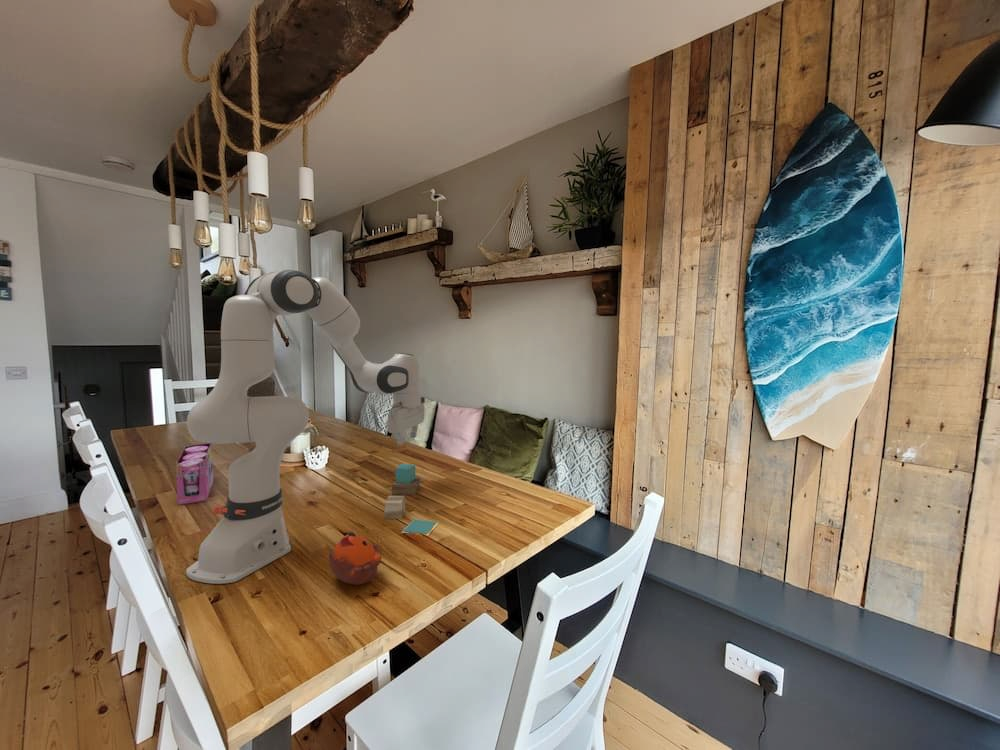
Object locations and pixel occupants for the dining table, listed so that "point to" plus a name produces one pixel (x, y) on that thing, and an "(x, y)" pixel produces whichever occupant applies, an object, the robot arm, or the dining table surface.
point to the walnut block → (406, 487)
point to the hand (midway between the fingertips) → (407, 440)
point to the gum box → (194, 473)
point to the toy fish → (355, 559)
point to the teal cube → (405, 473)
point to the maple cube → (394, 506)
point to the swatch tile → (419, 526)
